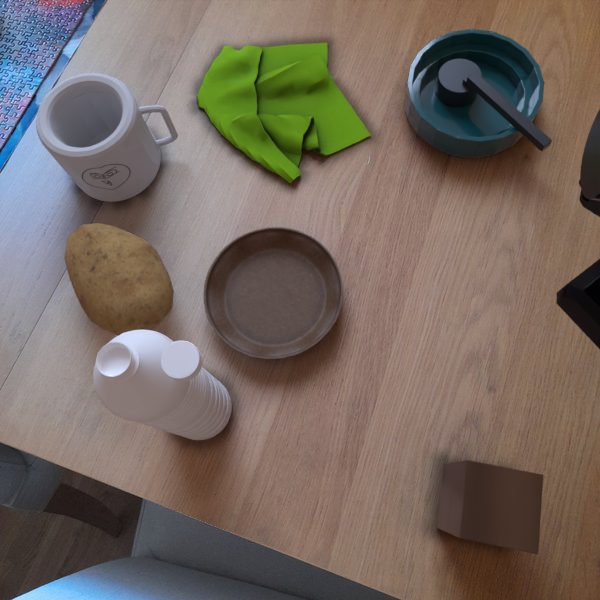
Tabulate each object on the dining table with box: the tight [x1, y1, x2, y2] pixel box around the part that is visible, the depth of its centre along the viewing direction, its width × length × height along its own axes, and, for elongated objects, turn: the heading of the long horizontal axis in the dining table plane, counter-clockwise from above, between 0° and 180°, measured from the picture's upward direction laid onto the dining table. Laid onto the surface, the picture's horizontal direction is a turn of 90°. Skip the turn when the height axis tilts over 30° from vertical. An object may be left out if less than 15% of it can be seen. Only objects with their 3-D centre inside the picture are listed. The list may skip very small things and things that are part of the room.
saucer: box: [203, 226, 344, 360], centre depth 61 cm, size 15×15×3 cm
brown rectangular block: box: [436, 459, 544, 555], centre depth 50 cm, size 6×6×10 cm
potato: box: [64, 222, 175, 336], centre depth 60 cm, size 10×14×8 cm
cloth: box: [196, 42, 372, 185], centre depth 68 cm, size 20×22×2 cm
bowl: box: [403, 28, 545, 159], centre depth 66 cm, size 15×15×4 cm
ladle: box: [436, 59, 553, 152], centre depth 65 cm, size 16×5×4 cm, turn 36°
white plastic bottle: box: [92, 329, 233, 441], centre depth 47 cm, size 9×6×25 cm
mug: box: [35, 72, 179, 203], centre depth 64 cm, size 14×11×10 cm
